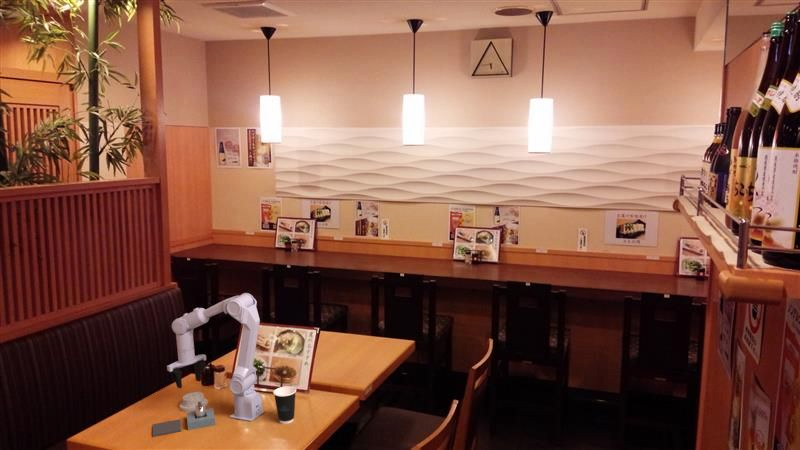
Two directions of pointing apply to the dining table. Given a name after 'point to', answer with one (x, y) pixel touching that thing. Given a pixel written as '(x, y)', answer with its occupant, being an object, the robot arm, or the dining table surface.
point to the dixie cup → (285, 403)
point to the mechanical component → (192, 401)
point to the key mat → (166, 427)
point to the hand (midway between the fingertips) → (189, 384)
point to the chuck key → (200, 410)
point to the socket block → (200, 419)
